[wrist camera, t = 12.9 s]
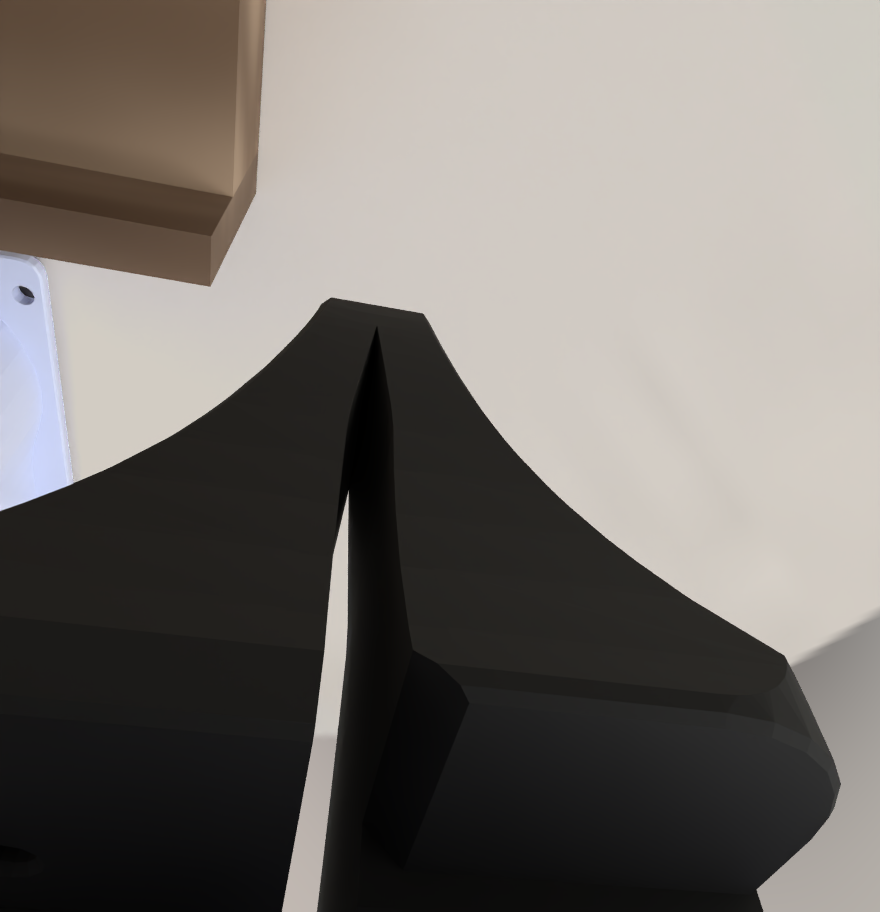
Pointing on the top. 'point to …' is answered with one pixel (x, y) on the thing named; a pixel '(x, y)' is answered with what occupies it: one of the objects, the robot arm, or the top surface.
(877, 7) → the top surface
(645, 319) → the top surface
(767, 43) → the top surface
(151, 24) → the trap box
